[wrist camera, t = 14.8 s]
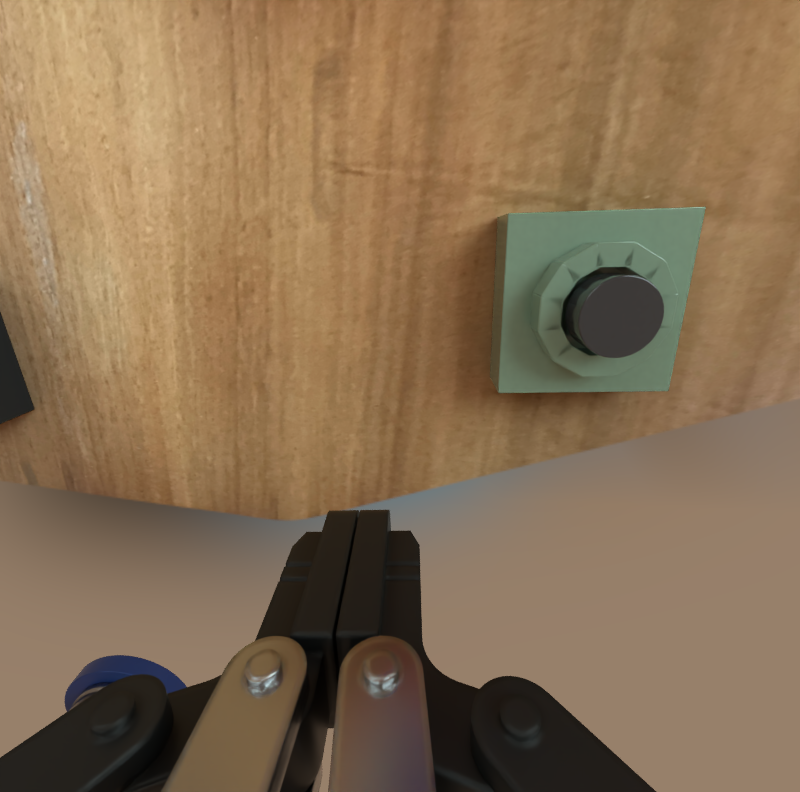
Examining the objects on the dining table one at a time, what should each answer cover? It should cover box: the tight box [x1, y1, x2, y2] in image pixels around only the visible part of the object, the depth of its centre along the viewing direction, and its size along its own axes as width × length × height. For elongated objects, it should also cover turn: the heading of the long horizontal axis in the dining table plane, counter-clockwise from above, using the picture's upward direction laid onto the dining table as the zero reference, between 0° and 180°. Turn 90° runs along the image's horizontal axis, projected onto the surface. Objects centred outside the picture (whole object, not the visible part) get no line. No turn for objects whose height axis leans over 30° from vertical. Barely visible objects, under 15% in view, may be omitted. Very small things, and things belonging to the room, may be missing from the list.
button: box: [565, 272, 664, 358], centre depth 21 cm, size 4×4×2 cm
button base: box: [490, 207, 705, 393], centre depth 24 cm, size 10×10×5 cm
